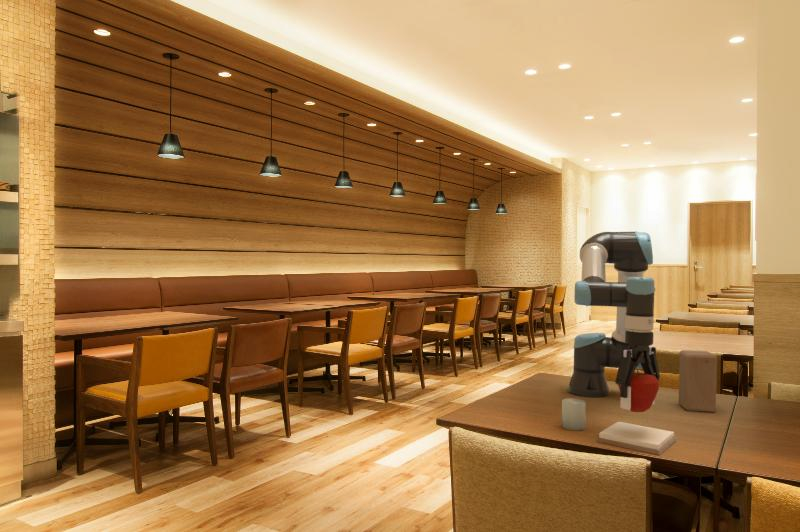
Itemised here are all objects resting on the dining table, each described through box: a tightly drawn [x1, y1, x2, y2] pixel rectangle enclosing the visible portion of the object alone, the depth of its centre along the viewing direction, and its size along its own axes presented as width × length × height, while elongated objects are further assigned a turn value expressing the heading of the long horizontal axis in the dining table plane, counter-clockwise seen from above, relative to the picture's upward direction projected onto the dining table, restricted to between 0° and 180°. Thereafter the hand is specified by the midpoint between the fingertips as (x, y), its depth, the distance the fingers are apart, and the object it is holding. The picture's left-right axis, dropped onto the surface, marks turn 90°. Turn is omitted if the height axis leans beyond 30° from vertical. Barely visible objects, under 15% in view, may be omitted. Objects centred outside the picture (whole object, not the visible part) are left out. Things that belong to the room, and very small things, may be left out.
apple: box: [617, 369, 659, 413], centre depth 168 cm, size 11×11×12 cm
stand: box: [596, 421, 677, 456], centre depth 168 cm, size 17×17×2 cm
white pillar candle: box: [561, 397, 586, 431], centre depth 181 cm, size 7×7×8 cm
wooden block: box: [678, 349, 718, 413], centre depth 207 cm, size 10×10×20 cm
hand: (637, 406), depth 168 cm, fingers closed on apple, 11 cm apart
